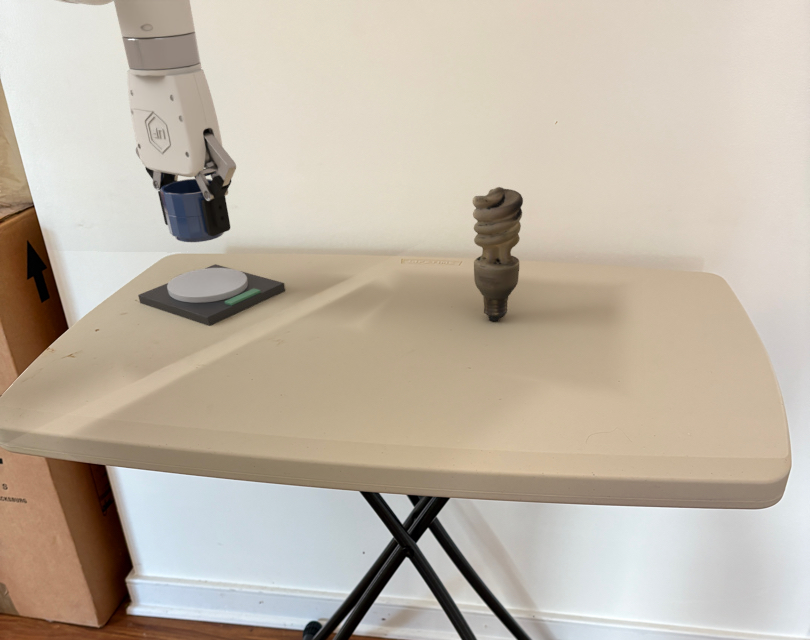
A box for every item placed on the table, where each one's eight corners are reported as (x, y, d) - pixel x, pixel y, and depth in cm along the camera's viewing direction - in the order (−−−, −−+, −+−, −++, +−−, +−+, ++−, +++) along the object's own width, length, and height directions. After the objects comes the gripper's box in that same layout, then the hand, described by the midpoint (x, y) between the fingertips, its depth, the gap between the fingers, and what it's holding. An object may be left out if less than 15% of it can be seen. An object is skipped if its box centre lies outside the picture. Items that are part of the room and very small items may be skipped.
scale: (211, 336, 91) (206, 310, 89) (142, 313, 97) (136, 288, 95) (286, 301, 99) (283, 276, 97) (218, 281, 105) (214, 258, 103)
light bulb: (466, 326, 91) (469, 193, 81) (473, 308, 95) (476, 180, 85) (513, 329, 90) (521, 195, 80) (518, 311, 94) (527, 181, 84)
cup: (197, 247, 89) (186, 197, 85) (159, 237, 92) (148, 189, 89) (239, 231, 93) (231, 183, 89) (202, 222, 96) (192, 175, 93)
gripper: (84, 55, 82) (127, 224, 94) (190, 64, 74) (224, 249, 85) (139, 46, 87) (175, 209, 98) (245, 54, 79) (271, 230, 90)
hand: (197, 226), depth 92 cm, fingers closed on cup, 6 cm apart
